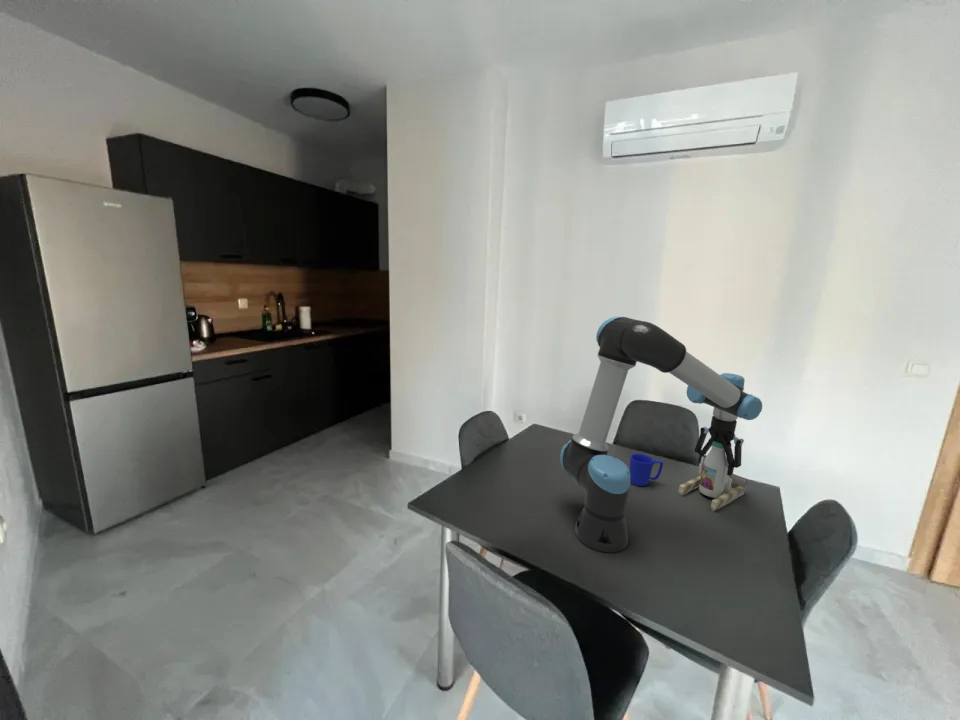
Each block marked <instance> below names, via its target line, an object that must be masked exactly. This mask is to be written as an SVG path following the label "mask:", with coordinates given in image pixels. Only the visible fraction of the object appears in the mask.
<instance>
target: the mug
mask: <svg viewBox="0 0 960 720" xmlns="http://www.w3.org/2000/svg"><path fill="white" fill-rule="evenodd" d="M629 458H630V460H629V470H630V483H632V484H633V485H636V486H641V487H644V486H645V487H646V486H647V485H648V484H649V481H650V480H652V481H655V480H658V479H659V478H660V475H661V473H662V470H663V467H664V462H663V461H662V460H656V459H655V460H654V458H652V457H651V456H649V455H646V454H643V453H633V454H631V455H630V457H629ZM655 464H659V468H658V472H657V473H656V475H655V476H654V477H651V474H652V471H653V467H654V465H655Z"/></svg>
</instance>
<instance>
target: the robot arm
mask: <svg viewBox="0 0 960 720" xmlns="http://www.w3.org/2000/svg"><path fill="white" fill-rule="evenodd" d="M595 336H596V337H595V338H596V339H595V340H596V342H597V345H598V347H599V349H598V351H597V357H598V359H599V361H600V363H599V367H598V370H597V373H596V376H595V379H594V381H593V386H592V389H591V391H590V396H589V398H588V401H587V406H586V409H585V412H584V415H583V418H582V422H581V424H580V427H579V429H578V432H577V433H576V434H573V435H572V437H571V439H570V440H568V441H567V443H565V444H564V445H563V446H562V448H561V450H560V454H559V461H560V465H561V467H562V470H564V472H565V473H566V475H567V476H568V477H569V478H571V479H572V480H573V481H574V482H575V483H576V484H577V485H578V486H579V487H580V488H581V489H582V490H583V491H584V492H585V495H584V502H583V503H584V504H583V505H584V506H583V509H582V510H581V512H580V514H579V516H578V518H577V520H576V522H575V529H574V532H575V535H576V537H577V539H578V540H579V541H580V542H581V543H582V544H583V545H585V546H586V547H589V548H590V549H593V550H595V551H597V552H598V551H599V552H603V553H617V552H622V551H623V550H624V549H626V547H627V546H628V542H629V531H628V529H627V528H628V527H627V522H626V511H627V504H628V499H629V492H630V488H631V481H630V467H628V465H627V464H626V463H625V462H623V461H622V460H621V459H619V458H617V457H613V456H612V455H608V452H609V446H608V444H607V443H606V442H607V438H608V436H609V432H610V429H611V427H612V426H611V425H612V423H613V419H614V416H615V414H616V410H617V407H618V404H619V401H620V398H621V396H622V391H623V389H624V385H625V383H626V379H627V375H628V373H629V371H630V370H631V369H633V368H635V367H636V366H637V362H638V363H640V364H644V365H647V366H649V367H652V368H655V369H656V370H658V371H659V372H661V373H664V374H666V373H667V374H668V373H669V374H670V375H671V376H673V377H675V378H676V379H678V380H680V381H681V382H683V383H684V384H686V385H687V387H686V396H687V399H688V400H689V401H690V402H691V403H693V404H698V405H702V404H705V405H708V406H710V407H713V410H712V416H711V420H710V421H711V422H710V427H708V426H707V427H706V426H702V427H700V430H699V431H700V433H699V436H698V439H697V441H696V444H695V447H694V452H695V453H697V454H698V459H697V460H698V461H697V463H698V464H699V468H698V474H700V475H701V473H702V468H703V463H704V460H705V457H706V456H707V454H708V451H710V450H711V448H712V442H713V441H716V442H719V443H722V444H723V447H724V449H725V455H726V458H727V462H728V465H727V466H725V471H724V476H723V482H722V483H723V484H725V483H727V482H728V480H729V476H731V475H732V474H734V470H735V468H736V469H737V468H740V467H742V449H743V448H742V447H743V444H744V442H745V441H744V439H743V438H738V437H737V436H736V434H735V432H736V427H737V422H738V421H737V420H738V418H739V419H743V420H746V421H753V420H755V419H757V418H758V417H759V416H760V413H762V410H763V401H762V400H761V399H760V398H759V397H757V396H756V395H755V396H754V395H753V394H748V393H747V392H745V391H744V390H745V377H744V376H742V375H739V374H735V373H730V372H729V373H728V372H724V373H721V374H719V373H717V371H715V370H714V369H712V368H710V367H709V366H708V365H706V364H705V363H703V362H702V361H701V360H699V359H698V358H696V357H695V356H694V355H693V354H691V353H689V352H688V351H687V348H686V347H687V346H686V345H684V344H683V343H682V342H681V341H679V340H678V339H676V338H675V337H674V336H673V335H671V334H670V333H668V332H667V331H665V330H664V329H663V328H661V327H660V326H658V325H656V324H654V323H652V322H650V321H645V320H639V319H634V318H630V317H627V316H613V317H610V318H608V319H606V320H604V321H603V322H602V324H600V325H599V327H598V329H597V332H596V335H595ZM708 434H709V435H710V437H709V439H708V441H707V442H706V443H705V441H706V438H707V435H708ZM732 441H733V444H734V450H732V449H733V448H732ZM704 443H705V444H704ZM703 445H704V446H703ZM733 451H734V453H733Z"/></svg>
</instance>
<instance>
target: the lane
mask: <svg viewBox="0 0 960 720" xmlns="http://www.w3.org/2000/svg"><path fill="white" fill-rule="evenodd" d="M700 478H701V475H699V476H697V477H695V478H692V479H690V480H688V481H686V482H684V483H682V484H679V487H678V492H677V494H678V493H680V494H684V493H686V492H688V491H690V490H692V489H694V488H695V487H697V486H699V484H700ZM729 478H731V479H732V483H731V487H732V488H734V489H732V490H730V491H729V492H727V493H725V494H723V495H721V496H719V497H718V498H713V499H712V500H711V504H710V508H712V509H714V510H716V509H717V508H719V507H721V506H722V505H723V504H725V503H726V502H728V501H729V500H731V499H732V498H734V497H735V496H737V495H739V494H740V493H741V492H743V491H744V490H746V491H747V486H748V482H749V480H748V479H747V478H745V477H742V476H740V475H737V474H734V473H733V474H732V475H731V476H729Z"/></svg>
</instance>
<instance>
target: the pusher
mask: <svg viewBox="0 0 960 720" xmlns="http://www.w3.org/2000/svg"><path fill="white" fill-rule="evenodd" d="M731 483H732V479H731V478H729V480H728V482H727V483H725V486H724V491H723V493H727V492H729V491H730V488H731Z"/></svg>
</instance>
